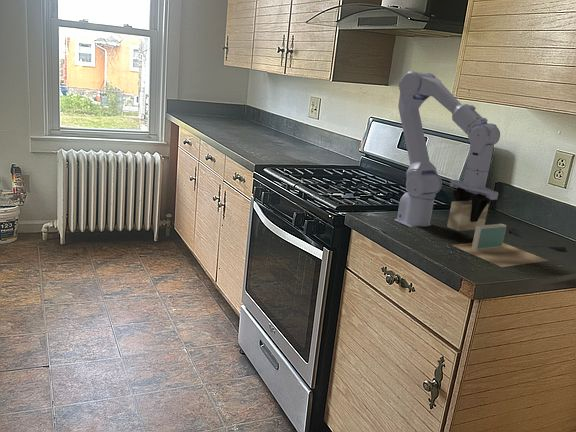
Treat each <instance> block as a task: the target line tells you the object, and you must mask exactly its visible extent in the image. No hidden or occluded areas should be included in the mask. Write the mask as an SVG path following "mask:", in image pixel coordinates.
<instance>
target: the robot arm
mask: <svg viewBox="0 0 576 432" xmlns="http://www.w3.org/2000/svg"><path fill="white" fill-rule="evenodd" d="M397 86H398V89H399V98H398V99H399V100H398V111H399V116H400V122H401V127H402V131H403V136H404V140H405V145H406V151H407V156H408V160H409V163H410V164H409V167H408V169H407V170H406V172H405V175H406V181H405V188H406V191H407V192H406V193H403V195H402V196H401V197H400V199H399V203H398V211H397V216H396V218H395V219H394V221H395V222H397V223H399V224H402V225H404V226H406V227H409V228H410V227H412V228H413V227H429V226H431V224H430V223H431V219H432V212H433V209H434V203H435V197H436V195H437V194H438V193H439V192H440V191H441V189H442V186H443V181H442V180H443V179H442V178H441V176H440V174H438V171H437V167H436V166H435V165H434V164H433V163H432V162H431V160H430V156H429V153H428V152H429V151H428V147H427V142H426V139H425V132H424V128H423V123H422V120H421V114H420V110H419V109H420V107H421V106H422V104H423V103H424V102H425V101H426V100H427V99H429V98H430V97H432V98H433V99H435V100H436V101H437V102H438V103H439V104H440V105H442V106H443V107H444V109H447V111H449V112H450V113H451V120H452V121H453V123H454V124H456V125H457V126H458V127H459V128H460V129H461V130H462V131H463V132H464V133H465V134H466V135H467V139H468V141H469V144H470V145H469V153H468V158H467V161H466V167H465V172H464V177H463V181H462V180H459V179H451V180H450V182H449V183H450V184H449V187H451V188H456V189H454V190H453V192H452V194H453V196H454V199H455V201H472V211H471V218H470V221H471V222H477V221H478V219H479V217H480V215H481V213H482V211H483V210H484V208H485V207H486V206H487V204H489V203H491V201H494V200H496V201H497V200H498V197H499V192H498V191H495V190H493V189H491V188H488V187H486V185H487V181H488V176H489V171H490V166H491V162H492V156H493V152H494V147H495V145H496V144H498V142H499V141H500V138H501V131H500V129H499V128H498V126H497V124H494V123H488V122H489V121H488V118H486V117H483V116H482V115H480V113H478V112H477V110H476V109H477V107H475V106H474V105H471V104H468V103H465V104H462V103H461V102H460V101H459V100H458V99H457V98H456V97H455V95H453V93H452V92H451V91H450V90H448V88H447V87H446V86H445V85H444V84H443V83H442V80H441V79H439V78H438V77H436V76H435V74H433V73H425V72H418V71H414V70H409V71H407V72H405V73H404V74H403V76H402V77H401V79H400V81H399V83H398V85H397ZM473 194H475V195H473ZM470 199H471V200H470Z"/></svg>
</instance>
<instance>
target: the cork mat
mask: <svg viewBox="0 0 576 432" xmlns="http://www.w3.org/2000/svg"><path fill="white" fill-rule="evenodd" d="M472 243H473V242H466V243H459V244H451V246H452V247H455V248H457V249H458V250H462V251H464V252H466V253H468V254H471V255H473V256H475V257H478V258H479V259H482V260H484V261H486V262H487V261H488V262H489V263H492V264H493V265H496V266H498V267H501V268H506V267H513V266H521V265H527V264H536V263H542V262H544V263H545V262H549V259H546V258H543V257H540V256H538V255H535V254H534V253H531V252H528V251H525V250H523V249H521V248H519V247H516V246H512V245H510V244H508V243H505V242H503V244H502V247H498V248H489V249H480V250H475V249H473V248H472Z"/></svg>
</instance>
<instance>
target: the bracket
mask: <svg viewBox="0 0 576 432" xmlns="http://www.w3.org/2000/svg"><path fill="white" fill-rule="evenodd" d="M507 234H510V235H514V236H516V237H519V238H521V239H523V240H526V241H529V242H531V240H530V239H529V238H527V237H525V236H524V235H522V234H521V233H520V232H519V231H518V229H516V228H509V229H508V230H507ZM536 244H537V245H538V246H537V245H522V247H523V248H548V249H551V250H554V251H556V252H567V247H566V246H562V245H561V246H560V245H559V246H558V245H556V246H554V245H552V246H551V245H545V244H541V243H537V242H536Z"/></svg>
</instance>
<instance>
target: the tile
mask: <svg viewBox="0 0 576 432" xmlns="http://www.w3.org/2000/svg"><path fill="white" fill-rule="evenodd" d="M506 230H507V224H504V223H495V224H485V225H479V226H476V229H475V230H474V234H473V235H474V236H473V240H472V242H471V243H472V248H473V249H475V250H480V249H489V248H498V247H502V244H503V243H504V239H505V234H506Z"/></svg>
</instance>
